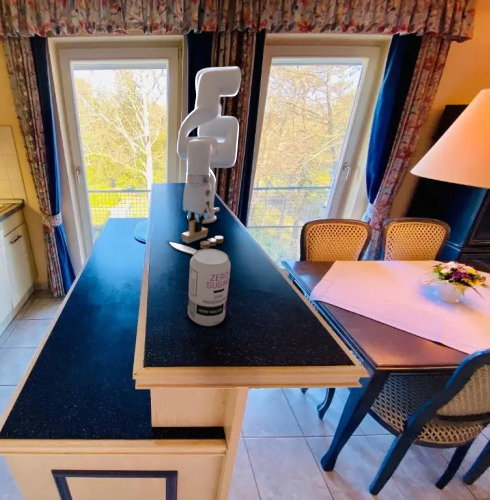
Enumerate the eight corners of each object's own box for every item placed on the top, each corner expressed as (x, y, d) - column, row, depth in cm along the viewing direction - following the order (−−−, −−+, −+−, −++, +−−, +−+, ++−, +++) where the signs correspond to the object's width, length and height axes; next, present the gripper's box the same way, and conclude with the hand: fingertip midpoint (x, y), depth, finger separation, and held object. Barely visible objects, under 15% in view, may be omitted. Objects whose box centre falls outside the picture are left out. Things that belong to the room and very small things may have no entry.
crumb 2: (217, 239, 102) (218, 234, 102) (224, 241, 100) (225, 237, 99) (212, 241, 100) (212, 237, 100) (219, 244, 98) (219, 239, 98)
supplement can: (199, 300, 68) (203, 244, 62) (231, 314, 63) (238, 254, 57) (180, 317, 62) (182, 257, 56) (212, 333, 58) (218, 270, 51)
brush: (201, 233, 107) (202, 216, 104) (207, 236, 104) (209, 218, 101) (181, 241, 101) (181, 222, 98) (187, 243, 99) (188, 225, 96)
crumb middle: (211, 241, 100) (211, 237, 100) (218, 244, 98) (218, 240, 97) (205, 243, 98) (205, 239, 98) (212, 246, 96) (212, 242, 95)
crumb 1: (204, 244, 98) (204, 240, 98) (211, 247, 96) (211, 242, 95) (198, 246, 96) (198, 242, 96) (205, 249, 94) (205, 245, 93)
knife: (168, 239, 100) (188, 236, 102) (168, 244, 100) (188, 241, 102) (205, 279, 73) (231, 274, 75) (204, 284, 74) (231, 279, 76)
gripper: (224, 181, 90) (219, 234, 98) (189, 174, 101) (187, 222, 109) (208, 184, 86) (204, 239, 93) (173, 177, 97) (172, 226, 105)
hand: (195, 230), depth 101 cm, fingers closed on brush, 2 cm apart
